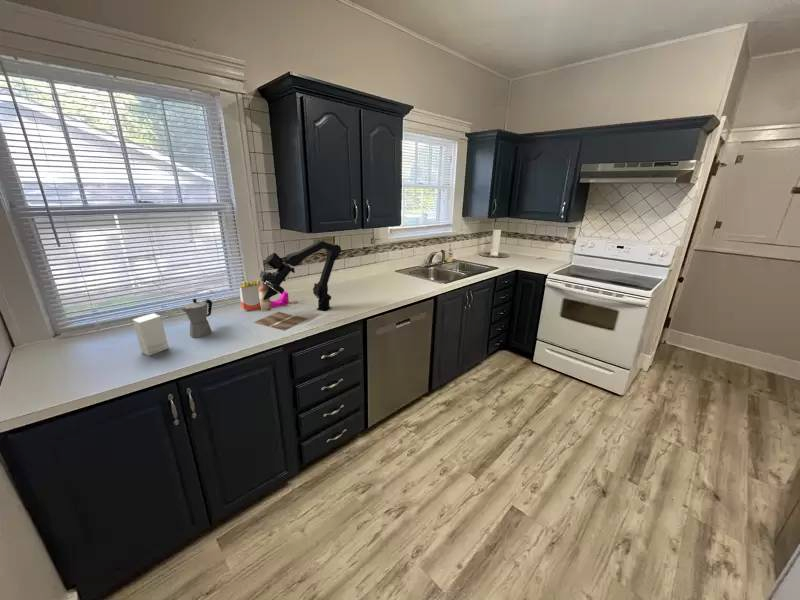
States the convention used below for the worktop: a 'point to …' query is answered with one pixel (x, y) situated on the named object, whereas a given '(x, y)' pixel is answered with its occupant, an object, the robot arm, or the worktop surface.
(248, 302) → the french fries container
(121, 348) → the worktop surface
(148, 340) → the skincare box
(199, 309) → the coffeepot
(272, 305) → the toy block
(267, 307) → the wooden pin
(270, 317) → the walnut board
